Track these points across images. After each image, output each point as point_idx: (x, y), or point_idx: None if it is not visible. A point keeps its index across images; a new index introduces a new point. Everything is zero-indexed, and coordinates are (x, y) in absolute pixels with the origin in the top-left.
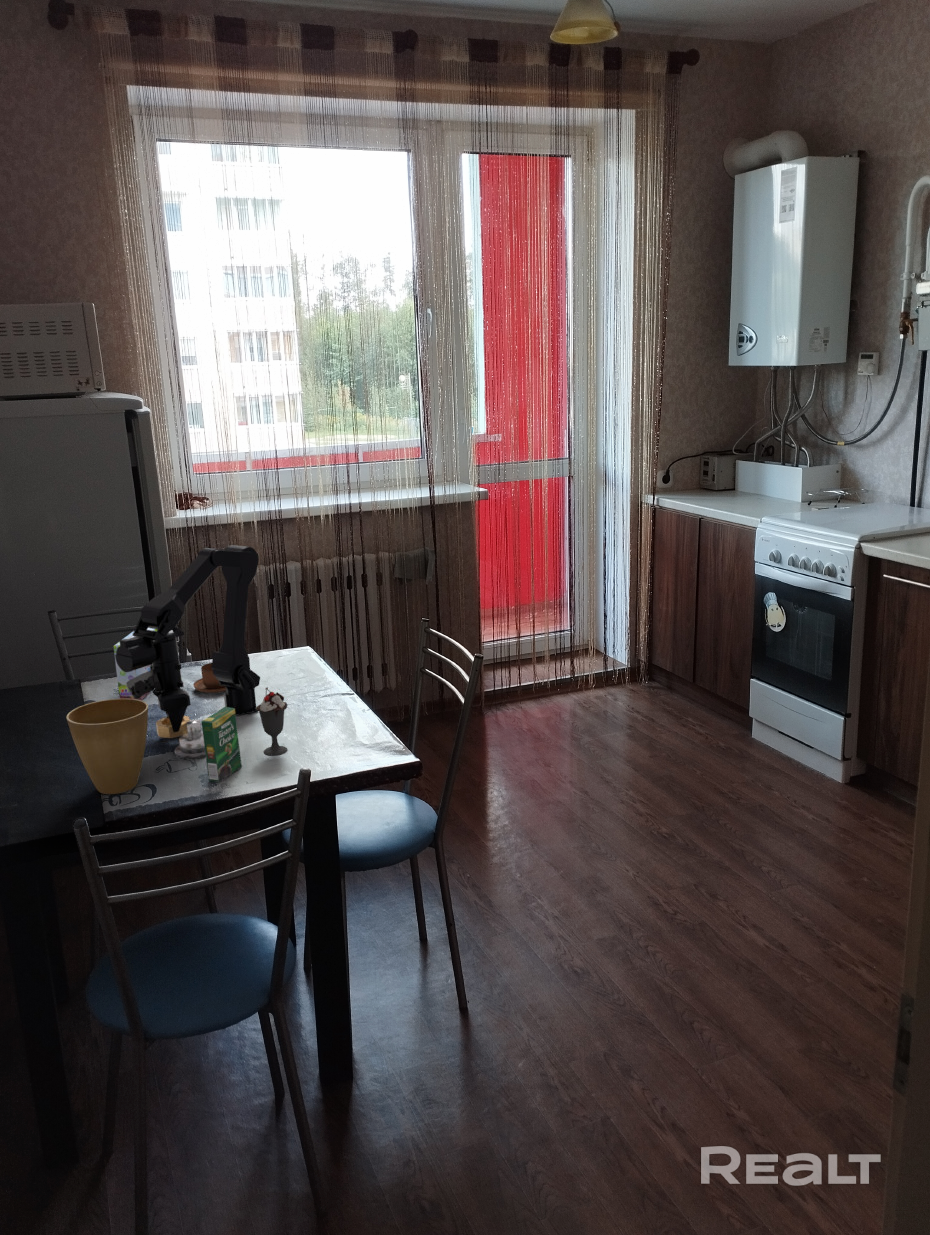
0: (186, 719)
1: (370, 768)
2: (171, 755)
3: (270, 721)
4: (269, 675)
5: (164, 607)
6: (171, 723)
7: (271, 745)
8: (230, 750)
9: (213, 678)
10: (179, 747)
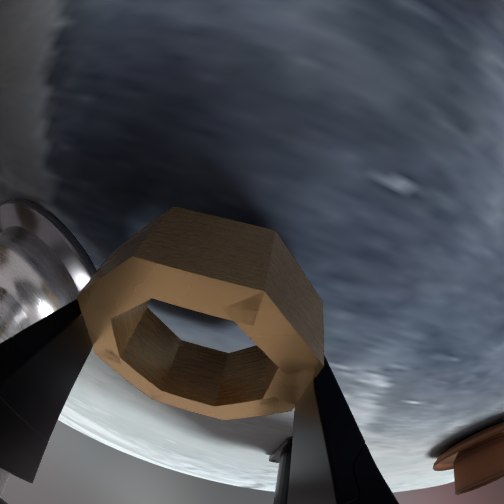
0: (173, 399)
1: None
2: (23, 184)
3: None
4: (427, 474)
5: None
6: (35, 324)
7: None
8: None
9: (475, 466)
10: (49, 237)
